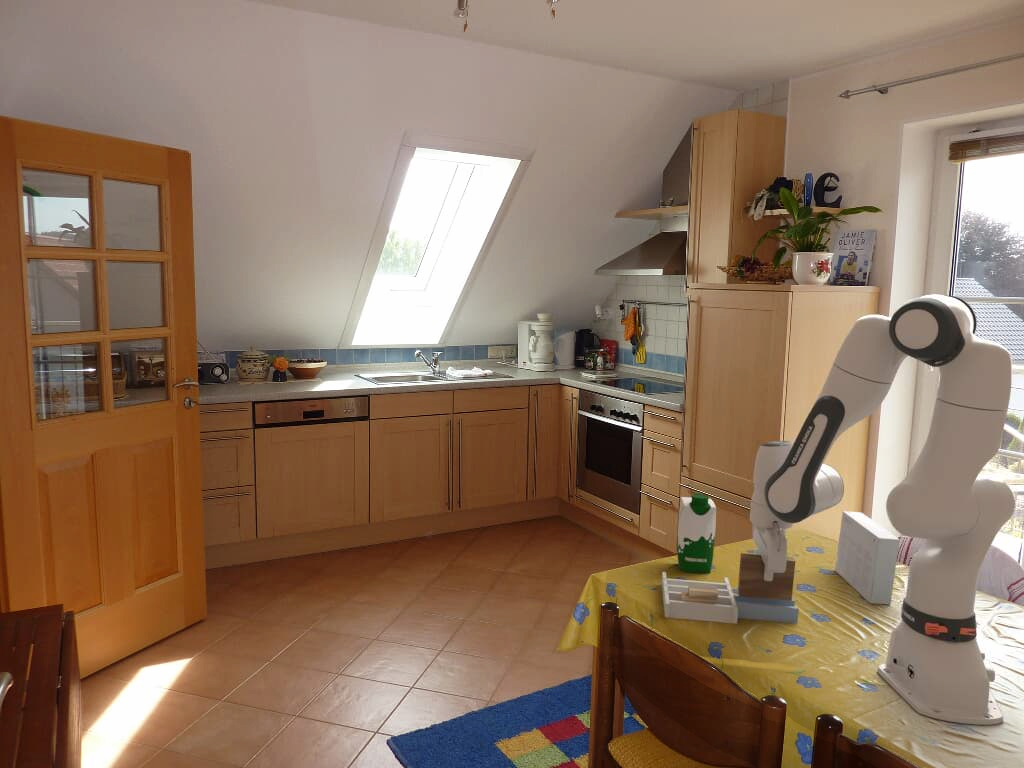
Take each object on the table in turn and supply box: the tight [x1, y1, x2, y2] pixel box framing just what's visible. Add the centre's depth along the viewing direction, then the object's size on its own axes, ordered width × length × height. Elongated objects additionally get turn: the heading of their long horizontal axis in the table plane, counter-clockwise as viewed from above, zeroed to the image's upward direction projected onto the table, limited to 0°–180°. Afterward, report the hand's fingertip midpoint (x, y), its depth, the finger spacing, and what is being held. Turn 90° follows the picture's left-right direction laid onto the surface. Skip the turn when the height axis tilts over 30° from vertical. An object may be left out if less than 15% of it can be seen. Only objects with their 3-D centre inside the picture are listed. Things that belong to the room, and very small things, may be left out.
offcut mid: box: [681, 592, 715, 604], centre depth 169 cm, size 3×7×2 cm, turn 81°
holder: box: [733, 593, 800, 624], centre depth 170 cm, size 6×13×4 cm, turn 81°
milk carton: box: [676, 493, 717, 574], centre depth 195 cm, size 9×9×20 cm
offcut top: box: [688, 585, 718, 601], centre depth 169 cm, size 3×6×2 cm, turn 81°
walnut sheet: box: [737, 553, 796, 601], centre depth 169 cm, size 2×11×9 cm, turn 82°
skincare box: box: [834, 510, 900, 605], centre depth 188 cm, size 21×6×16 cm, turn 179°
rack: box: [661, 571, 739, 624], centre depth 175 cm, size 18×15×4 cm
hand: (766, 576), depth 169 cm, fingers closed on walnut sheet, 2 cm apart
